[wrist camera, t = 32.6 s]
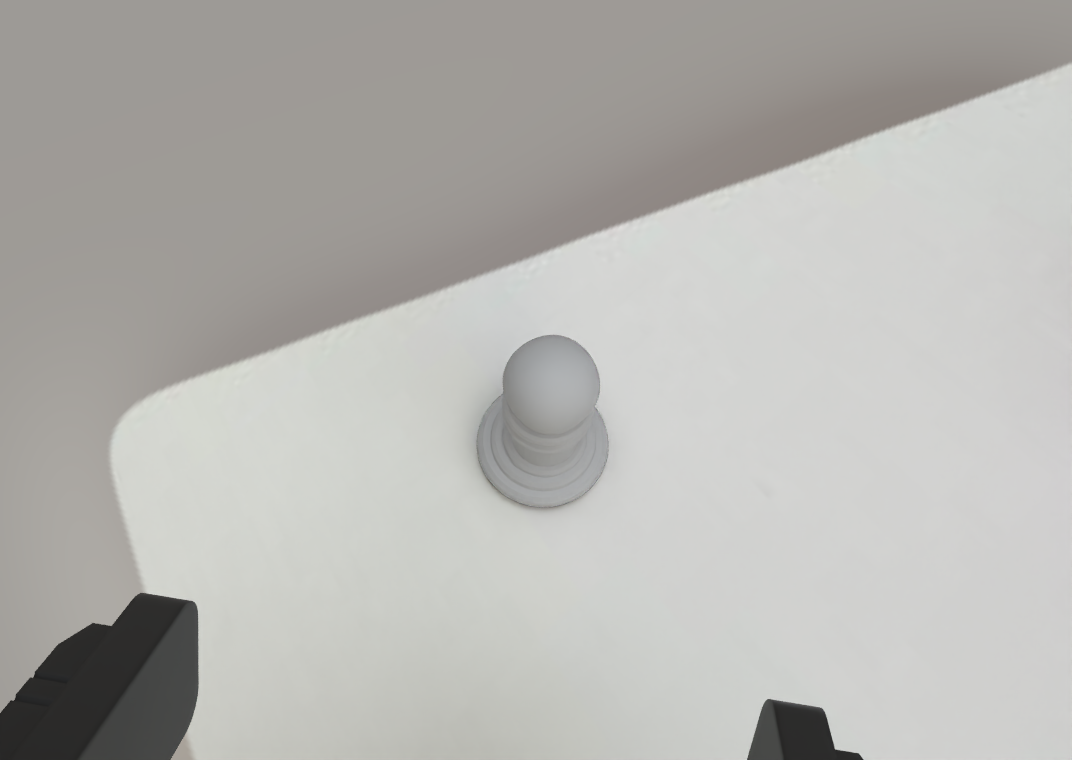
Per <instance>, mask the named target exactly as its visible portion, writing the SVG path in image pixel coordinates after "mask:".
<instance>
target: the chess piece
mask: <svg viewBox="0 0 1072 760" xmlns="http://www.w3.org/2000/svg"><path fill="white" fill-rule="evenodd" d="M503 390H504V391H503V394H502V395H501V396H499V397H498V398H497V399H496V400H495V401H494V402H493V403H492V404H491V406H490V407H489V408H488V410H487V411H486V413H485V415H484V416H483V418H482V421H481V423H480V426H479V430H478V436H477V452H478V458H479V461H480V464H481V467H482V469H483V471H484V473H485V475H486V476H487V478H488V479H489V481H490V482H491V483H492V484H493V486H494V487H495V488H496V489H498V490H499V491H500V492H501V493H502V494H504V495H505V496H507V497H508V498H510V499H512V500H514V501H516V502H519V503H521V504H524V505H529V506H534V507H552V506H558V505H562V504H565V503H568V502H570V501H573V500H575V499H576V498H578V497H580V496H581V495H583V494H584V493H585V492H587V491H588V490H589V489H590V488H591V487H592V486H593V485H594V484H595V482H596V481H597V479H598V478H599V477H600V475H601V473H602V471H603V469H604V466H605V463H606V460H607V455H608V435H607V430H606V427H605V424H604V421H603V419H602V417H601V415H600V413H599V412H598V410H597V409H596V408H595V405H596V403H597V400H598V397H599V393H600V379H599V374H598V370H597V367H596V365H595V363H594V361H593V359H592V357H591V356H590V354H589V353H588V352H587V351H586V350H585V349H584V348H583V347H582V346H581V345H580V344H578V343H577V342H576V341H574V340H572V339H570V338H567V337H564V336H559V335H547V336H541V337H538V338H535V339H533V340H530V341H528V342H527V343H525V344H524V345H522V346H521V347H520V348H519V349H517V350H516V351H515V353H514V354H513V355H512V356H511V357H510V359H509V361H508V362H507V365H506V367H505V370H504V374H503Z"/></svg>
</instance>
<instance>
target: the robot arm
mask: <svg viewBox="0 0 1072 760" xmlns="http://www.w3.org/2000/svg"><path fill="white" fill-rule="evenodd" d="M197 696H198V610H197V606H196V604H195V602H193V601H188V600H182V599H176V598H170V597H164V596H158V595H152V594H146V593H140V594H138V595H137V596H135V598H134V599H133V600H132V601H131V602H130V603H129V605H128V606H127V607H126V609H125V610H124V611H123V612H122V614H121V615H120V616H119V617H118V619H117V620H116V621H115V623H114V624H113V625H112V626H107V625H101V624H95V623H92V624H91V625H89V626H87V627H86V628H84V629H82V630H81V631H79V632H78V633H76V634H74V635H73V636H71V637H70V638H68V639H66V640H65V641H63V642H61V643H60V644H58V645H57V646H56V648H55V649H54V650H53V651H52V652H51V654H50V655H49V656H48V657H47V658H46V660H45V661H44V662H43V663H42V664H41V666H40V667H39V668H38V669H37V670H36V671H35V675H34V677H33V678H30V679H29V680H28V681H27V682H26V683H25V684H24V686H23V687H22V688H21V689H20V690H19V692H18V693H17V694H16V698H15V700H14V701H10V702H9V703H8V705H7V706H6V707H5V708H4V709H3V711H2V712H1V713H0V760H170V759H171V758H172V756H173V754H174V753H175V751H176V749H177V747H178V746H179V744H180V742H181V740H182V739H183V737H184V735H185V733H186V731H187V729H188V727H189V725H190V722H191V720H192V716H193V713H194V710H195V706H196V701H197ZM747 760H863V758H862V757H861V756H860V755H859V754H858V753H852V752H846V751H840V750H835V748H834V744H833V740H832V736H831V733H830V729H829V725H828V721H827V717H826V714H825V712H824V710H823V709H822V708H819V707H813V706H807V705H801V704H795V703H789V702H783V701H777V700H771V699H767V700H766V701H765V703H764V705H763V707H762V710H761V713H760V717H759V720H758V724H757V727H756V731H755V734H754V738H753V741H752V744H751V748H750V751H749V755H748V758H747Z"/></svg>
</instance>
